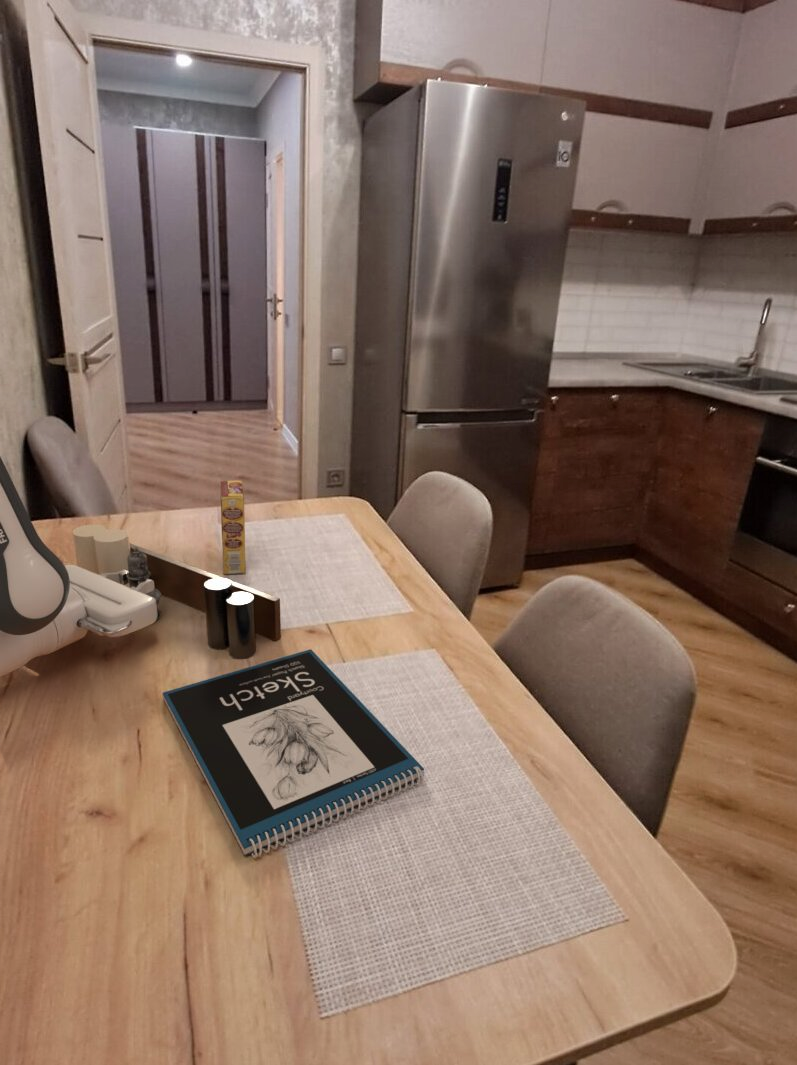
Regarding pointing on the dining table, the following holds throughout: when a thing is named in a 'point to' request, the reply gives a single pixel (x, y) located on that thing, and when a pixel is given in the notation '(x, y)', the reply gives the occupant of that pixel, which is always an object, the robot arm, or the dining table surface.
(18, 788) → the dining table surface
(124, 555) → the cream shakers
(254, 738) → the sketchbook
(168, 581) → the brown wooden board
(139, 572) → the dark grey upright piece
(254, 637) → the dark metal shakers
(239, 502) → the candy box
